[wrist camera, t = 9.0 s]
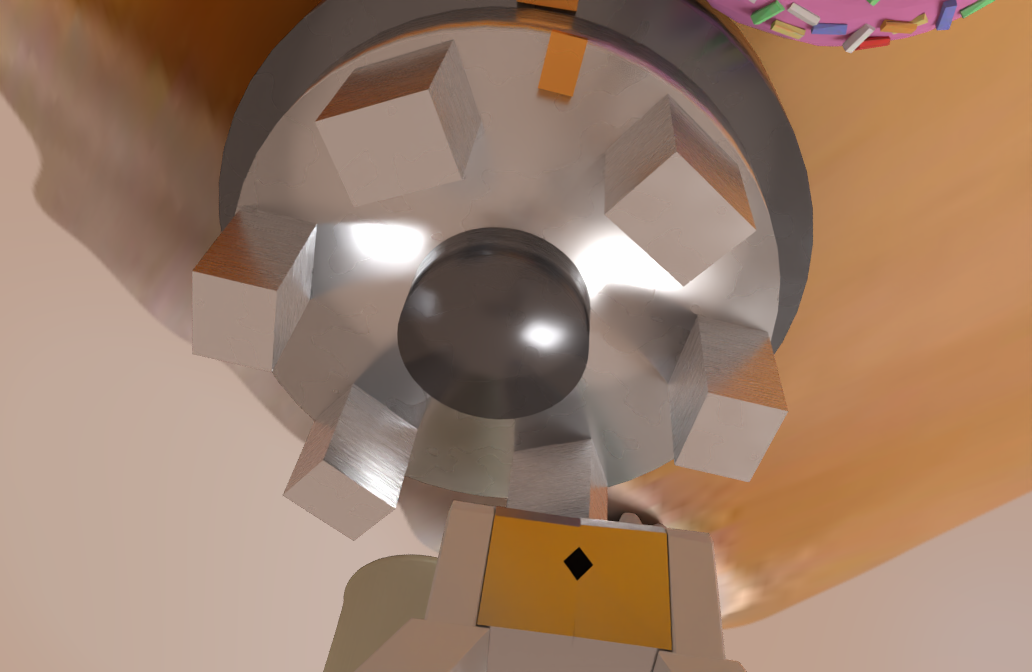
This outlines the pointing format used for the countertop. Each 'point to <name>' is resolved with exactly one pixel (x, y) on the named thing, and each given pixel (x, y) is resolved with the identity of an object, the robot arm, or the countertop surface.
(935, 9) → the donut
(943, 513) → the countertop surface
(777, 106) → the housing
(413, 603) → the can
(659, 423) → the toothed metal gear
